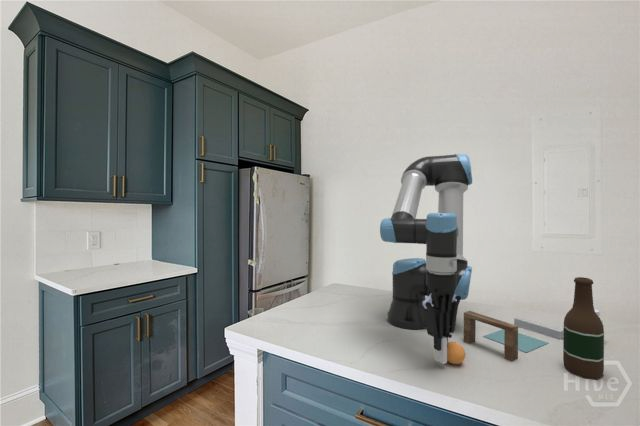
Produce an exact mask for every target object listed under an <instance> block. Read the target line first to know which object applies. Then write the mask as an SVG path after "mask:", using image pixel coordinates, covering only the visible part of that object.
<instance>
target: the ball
mask: <svg viewBox="0 0 640 426" xmlns="http://www.w3.org/2000/svg"><path fill="white" fill-rule="evenodd" d="M465 359H466V352H465V348H464V347H463V346H462V345H461V344H460V343H458V342H456V341H448V348H447V362H448V363H450V364H453V365H460V364H462V363H463V362H464V361H465Z"/></svg>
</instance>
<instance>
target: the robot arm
mask: <svg viewBox="0 0 640 426" xmlns="http://www.w3.org/2000/svg"><path fill="white" fill-rule="evenodd" d="M400 183H401V187H400V189H399V193H398V196H397V199H396V202H395V204H394V208H393V211H392V214H391V216H390V218H389V217H388V218H383V219H382V220H381V221H380V225H379V226H380V227H379V234H380V238H381V240H382V241H383V242H385V243H386V242H387V243H394V244H419V245H426V246H425V248H426V249H425V250H426V251H425V258H419V257H412V258H411V257H410V258H404V259H403V258H402V259H398V260H396V261H394V262H393V264H392V272H391V274H392V299H391V303H390V306H389V307H390V308H389V311H388V312H387V322H388V323H389V324H391V325H392V326H395V327H398V328H402V329H407V330H421V329H422V330H423V329H426V333H427V335H428V336H430V337H432V338H433V349H434V360H435V361H437V362H438V363H441V364H442V365H445V364H447V363H448V361H447V348H448V342H449V339H452V337H453V335H452V334H454V333H455V328H456V322H457V315H458V314H457V313H458V309H459V304H460V302H461V301H464V300H466V299H468V297H469V292H470V284H471V278H472V273H473V267H472V266H470V265H468V260H467V259H466V257H464V193H465V192H467V190H469V186H470V185H472V184H473V175H472V165H471V161H470V157H469V156H468V155H467V154H464V153H463V154H462V153H461V154H460V153H459V154H458V153H455V154H447V155H434V156H433V155H431V156H428V155H427V156H424V157H421V158H419V159H417V160H415V161H413V162H412V163H410V164H409V165H408V166H407V168H406V169H405V170H404V171H403V172H402V175H401V178H400ZM427 186H428V187H429V186H430V187H431V186H434V190H435V192H437V194H438V205H437V210H438V211H437V212H429V213H428V214H427V215H426V218H417V214H418V209H419V206H420V200H421V196H422V193H423V190H424V189H425V188H426V187H427Z"/></svg>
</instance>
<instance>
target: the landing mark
mask: <svg viewBox="0 0 640 426" xmlns="http://www.w3.org/2000/svg"><path fill="white" fill-rule="evenodd" d="M504 332H505V330H503V329H500V330H498V331H493V332H490V333H488V334H485V335H483V336H482V337H484V338H486V339H489V340H491V341H493V342H496V343H498V344H502V345H504ZM548 344H549V342H547V341H544V340H541V339H538V338H536V337H532V336H529V335H527V334H523V333H520V332H518V351H520V352H523V353H526V354H527V353H529V352H532V351H535V350H536V349H539V348H541V347H544V346H546V345H548Z"/></svg>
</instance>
